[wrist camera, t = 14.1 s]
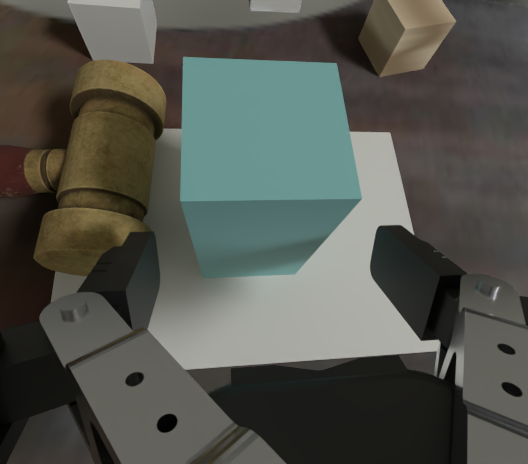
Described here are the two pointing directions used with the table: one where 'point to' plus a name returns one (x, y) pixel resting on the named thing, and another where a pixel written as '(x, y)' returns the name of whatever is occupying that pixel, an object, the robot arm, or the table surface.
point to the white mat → (277, 280)
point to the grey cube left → (117, 28)
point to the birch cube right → (404, 34)
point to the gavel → (93, 167)
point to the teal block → (263, 163)
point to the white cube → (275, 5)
